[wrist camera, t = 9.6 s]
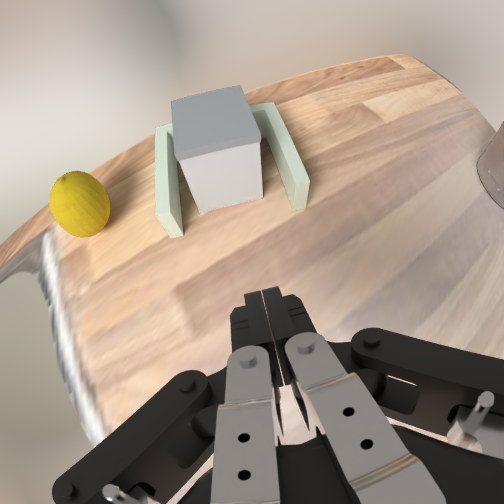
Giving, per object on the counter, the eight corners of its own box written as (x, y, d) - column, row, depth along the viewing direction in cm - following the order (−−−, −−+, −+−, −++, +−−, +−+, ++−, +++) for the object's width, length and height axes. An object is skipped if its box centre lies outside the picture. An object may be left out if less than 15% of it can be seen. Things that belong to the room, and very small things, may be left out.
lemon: (124, 197, 28) (89, 146, 20) (122, 243, 25) (78, 196, 18) (82, 211, 27) (43, 167, 20) (77, 255, 25) (29, 216, 18)
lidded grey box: (247, 147, 29) (240, 85, 22) (264, 198, 26) (260, 133, 19) (190, 160, 29) (171, 101, 22) (198, 214, 26) (174, 154, 19)
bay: (274, 129, 30) (273, 101, 26) (305, 208, 25) (310, 180, 22) (166, 153, 30) (155, 127, 26) (171, 238, 25) (155, 215, 21)
